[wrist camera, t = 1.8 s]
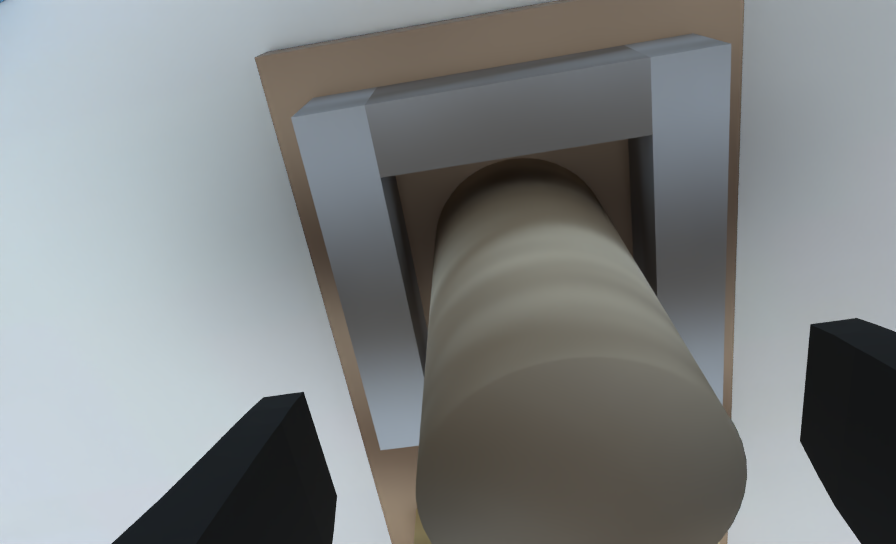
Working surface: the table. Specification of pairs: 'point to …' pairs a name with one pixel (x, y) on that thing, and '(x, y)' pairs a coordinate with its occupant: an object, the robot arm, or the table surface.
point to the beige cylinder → (561, 381)
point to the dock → (497, 139)
